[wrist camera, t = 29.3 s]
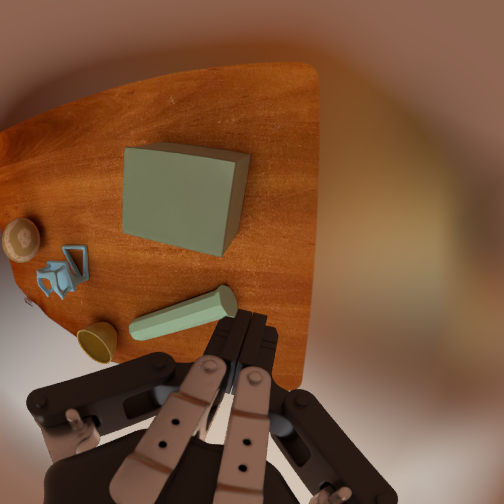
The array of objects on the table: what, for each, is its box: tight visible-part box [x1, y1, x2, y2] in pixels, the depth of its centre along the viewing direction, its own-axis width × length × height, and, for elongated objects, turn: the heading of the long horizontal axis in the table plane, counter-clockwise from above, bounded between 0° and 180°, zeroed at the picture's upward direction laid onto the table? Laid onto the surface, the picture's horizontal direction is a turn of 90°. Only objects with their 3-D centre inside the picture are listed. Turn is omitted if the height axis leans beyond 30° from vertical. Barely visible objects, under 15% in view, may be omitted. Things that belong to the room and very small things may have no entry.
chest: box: [137, 142, 251, 253], centre depth 42 cm, size 15×13×9 cm
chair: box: [37, 245, 89, 300], centre depth 52 cm, size 8×8×12 cm
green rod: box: [129, 285, 238, 341], centre depth 55 cm, size 6×6×25 cm
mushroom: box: [2, 218, 40, 263], centre depth 54 cm, size 10×11×15 cm
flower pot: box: [77, 322, 117, 364], centre depth 61 cm, size 10×10×7 cm
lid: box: [122, 147, 237, 257], centre depth 37 cm, size 16×13×1 cm
